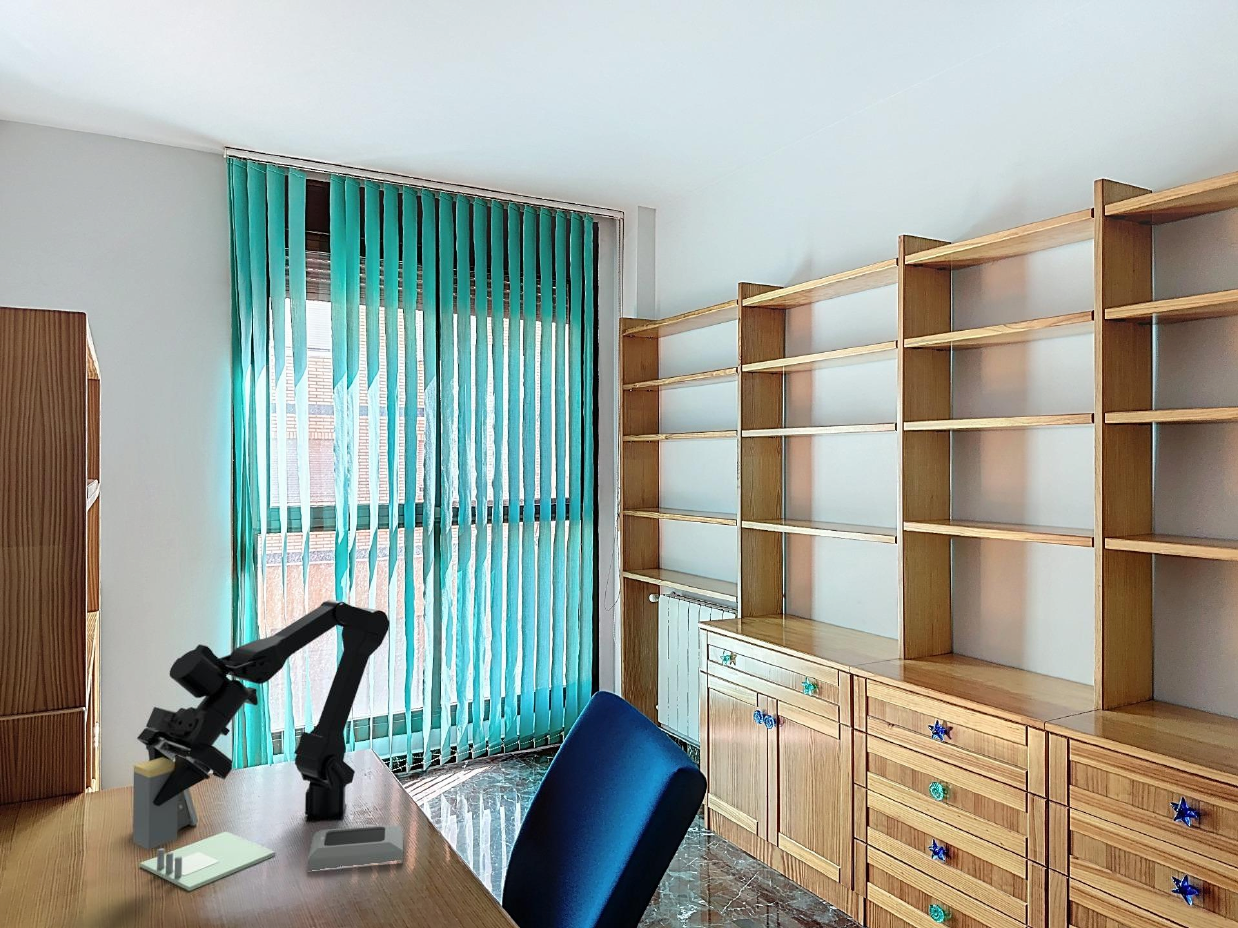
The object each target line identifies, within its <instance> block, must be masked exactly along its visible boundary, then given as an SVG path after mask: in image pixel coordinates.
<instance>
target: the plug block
mask: <svg viewBox="0 0 1238 928" xmlns="http://www.w3.org/2000/svg"><path fill="white" fill-rule="evenodd" d="M174 767H175V760H173V761H171V760H169V759H166V758H163V757H161V758H158V759H154V760H151V761H149V760H147V761H144V762H140V763H137V764H134V765H133V796H132V797H133V801H132V802H133V803H132V804H133V806H132V807H133V809H132V811H133V812H132V814H133V815H132V843H133V844H135V845H138V846H139V847H141V848H144V849H147V850H151V849H153V848H156V847H160V846H163V845H165V844H167V843H170V842H173V841H176V840H178V830H177V810H178V795H176V796H175V797H173V798H171V799H170V800H168V801H167V802H165V803H163V804H162V805H160V806H156V805H155V804H153V801H154V800H155V798H156V796H157V794H158V793H159V791H160V790H161V788H162V787H163V785H164V784H165V782H166V781H167V779H168V778H169V776H170V775H171V773H172V772H173V770H174Z"/></svg>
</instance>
